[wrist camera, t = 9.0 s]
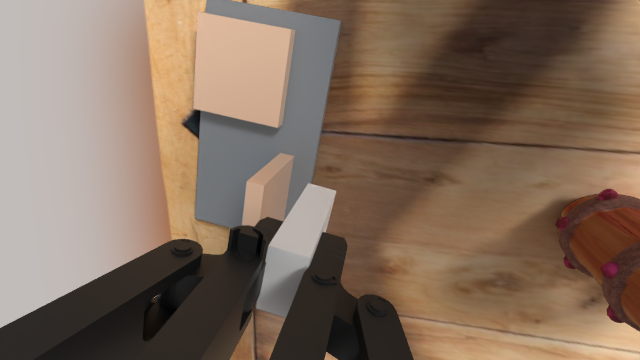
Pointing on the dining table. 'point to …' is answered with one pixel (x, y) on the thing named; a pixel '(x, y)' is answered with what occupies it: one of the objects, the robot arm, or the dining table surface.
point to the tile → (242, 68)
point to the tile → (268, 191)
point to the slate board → (261, 140)
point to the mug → (606, 248)
